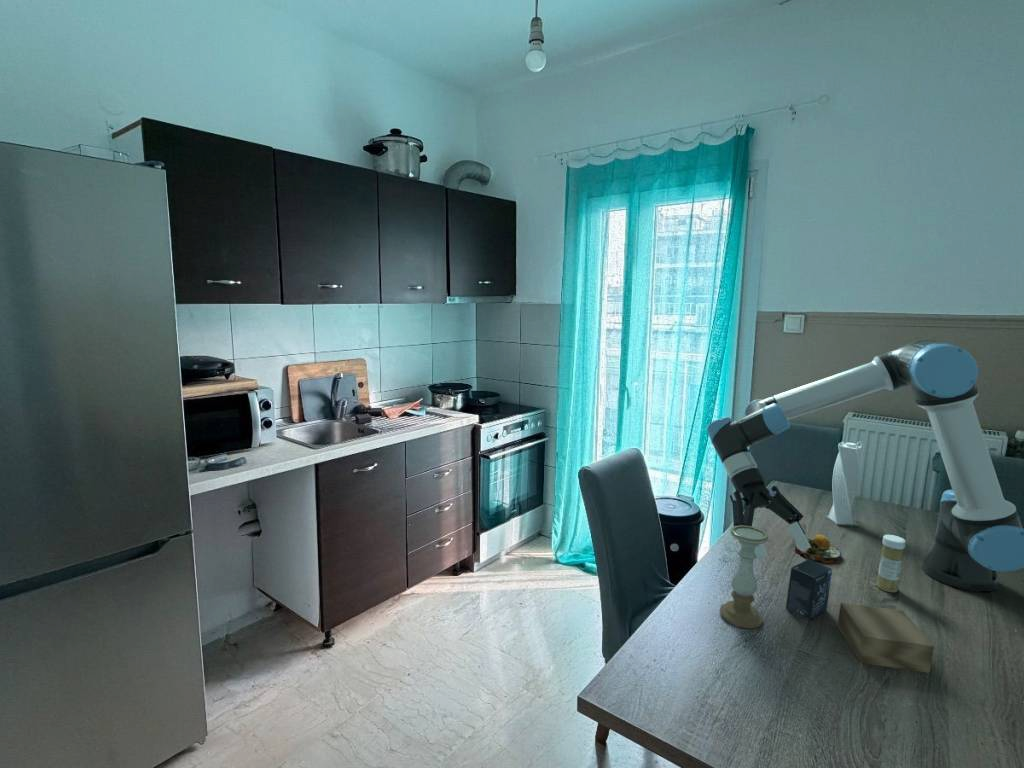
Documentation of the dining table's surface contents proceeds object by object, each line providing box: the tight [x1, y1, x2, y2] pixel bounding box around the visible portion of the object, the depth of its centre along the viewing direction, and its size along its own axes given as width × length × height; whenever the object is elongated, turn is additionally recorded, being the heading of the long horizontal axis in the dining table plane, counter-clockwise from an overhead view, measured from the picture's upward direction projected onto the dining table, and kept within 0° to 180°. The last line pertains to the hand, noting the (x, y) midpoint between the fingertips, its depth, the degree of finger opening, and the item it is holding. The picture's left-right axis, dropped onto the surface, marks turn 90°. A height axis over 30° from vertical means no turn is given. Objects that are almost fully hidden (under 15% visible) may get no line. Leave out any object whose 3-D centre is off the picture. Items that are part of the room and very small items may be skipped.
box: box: [785, 559, 833, 621], centre depth 122 cm, size 8×6×11 cm
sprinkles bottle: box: [876, 534, 907, 593], centre depth 132 cm, size 5×5×14 cm
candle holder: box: [719, 525, 769, 629], centre depth 118 cm, size 9×9×20 cm
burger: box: [793, 534, 842, 564], centre depth 151 cm, size 12×12×8 cm
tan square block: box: [837, 602, 935, 674], centre depth 110 cm, size 12×12×6 cm
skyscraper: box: [824, 440, 863, 527], centre depth 171 cm, size 8×8×28 cm
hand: (785, 553), depth 127 cm, fingers open, 13 cm apart
